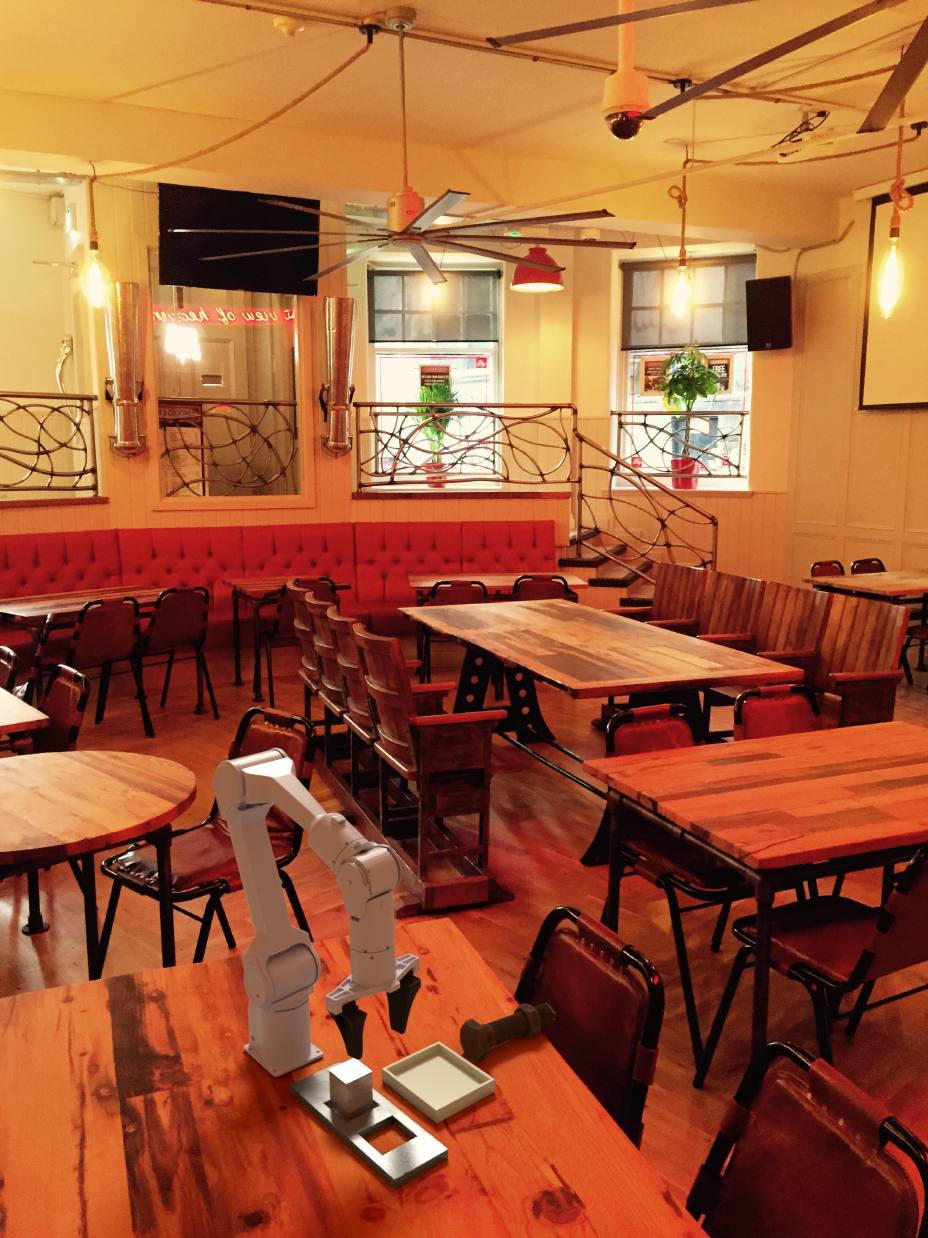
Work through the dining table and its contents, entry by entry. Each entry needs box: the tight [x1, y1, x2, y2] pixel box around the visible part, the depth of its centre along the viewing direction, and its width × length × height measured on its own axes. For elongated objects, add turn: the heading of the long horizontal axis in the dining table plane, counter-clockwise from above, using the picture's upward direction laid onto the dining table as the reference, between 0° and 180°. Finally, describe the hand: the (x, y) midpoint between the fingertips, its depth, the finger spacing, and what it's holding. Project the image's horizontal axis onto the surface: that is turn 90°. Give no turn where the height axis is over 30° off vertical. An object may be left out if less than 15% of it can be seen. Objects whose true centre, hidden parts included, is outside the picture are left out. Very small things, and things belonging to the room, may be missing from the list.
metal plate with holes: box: [289, 1061, 449, 1190], centre depth 125 cm, size 24×8×1 cm, turn 40°
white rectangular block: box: [329, 1058, 374, 1123], centre depth 127 cm, size 4×4×6 cm
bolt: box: [459, 1002, 556, 1063], centre depth 143 cm, size 6×5×15 cm
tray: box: [381, 1041, 496, 1124], centre depth 133 cm, size 12×10×2 cm
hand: (376, 1043), depth 126 cm, fingers open, 7 cm apart
